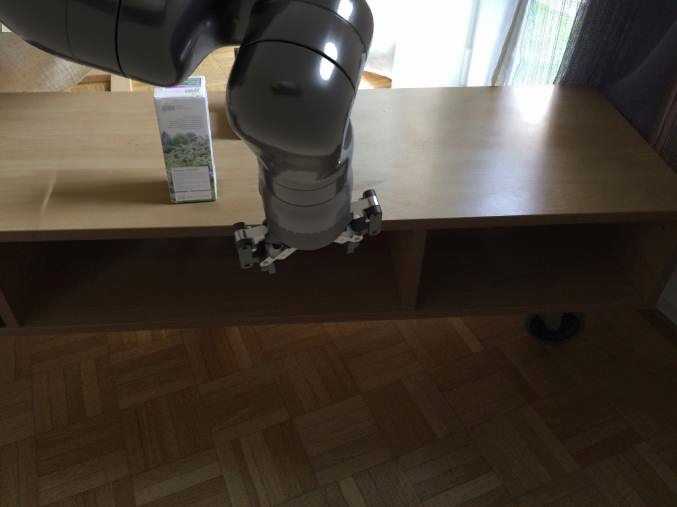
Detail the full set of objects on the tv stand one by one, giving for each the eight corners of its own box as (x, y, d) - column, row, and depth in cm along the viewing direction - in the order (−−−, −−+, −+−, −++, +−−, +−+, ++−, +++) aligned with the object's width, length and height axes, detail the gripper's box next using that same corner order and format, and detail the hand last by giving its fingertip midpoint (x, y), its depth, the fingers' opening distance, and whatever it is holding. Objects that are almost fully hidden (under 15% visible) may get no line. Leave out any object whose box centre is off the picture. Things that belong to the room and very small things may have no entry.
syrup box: (216, 177, 81) (204, 72, 72) (217, 202, 77) (205, 93, 68) (172, 180, 80) (155, 74, 71) (171, 205, 76) (152, 95, 67)
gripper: (231, 253, 48) (252, 305, 63) (402, 209, 50) (383, 270, 65) (211, 170, 51) (236, 240, 66) (375, 131, 52) (362, 207, 68)
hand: (309, 255), depth 65 cm, fingers open, 8 cm apart
